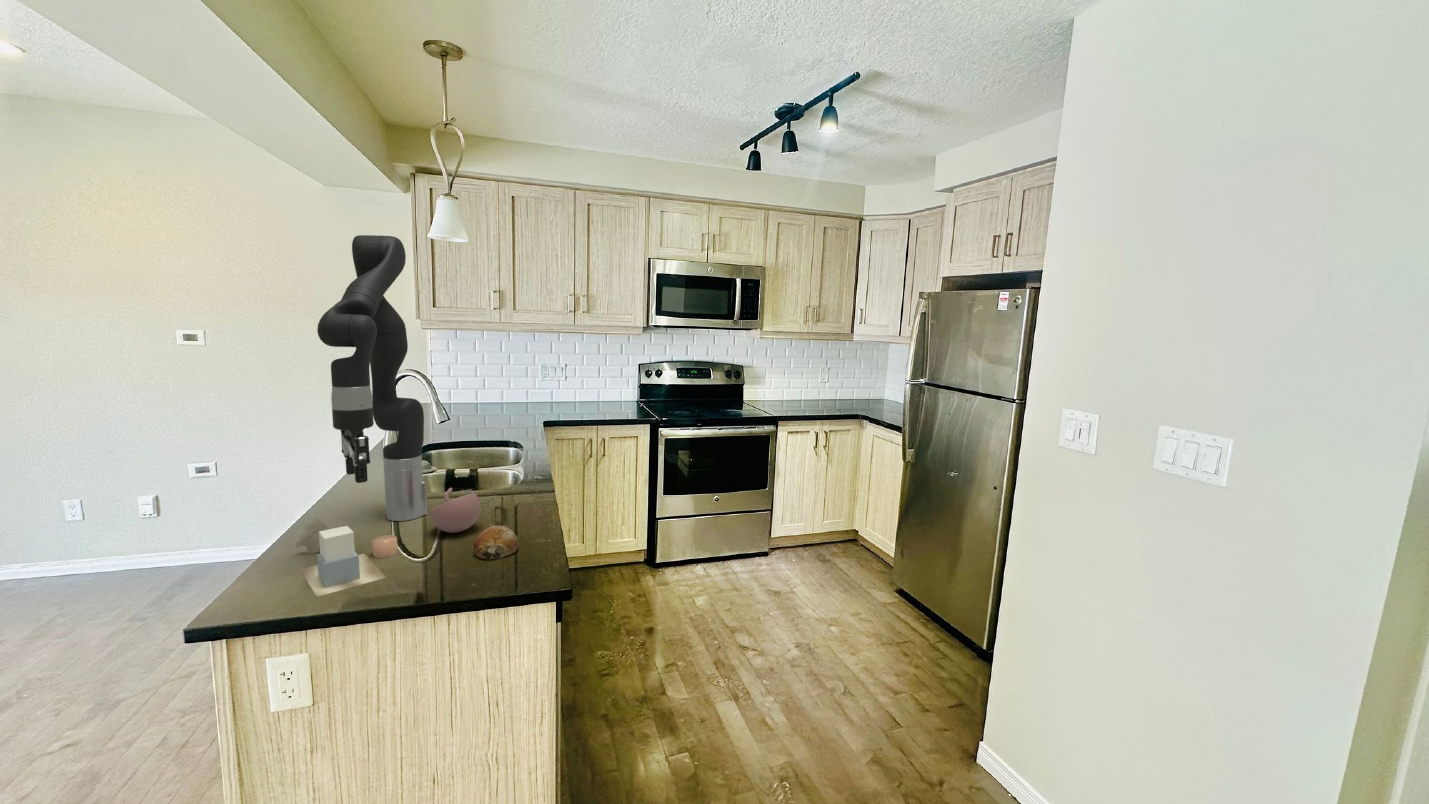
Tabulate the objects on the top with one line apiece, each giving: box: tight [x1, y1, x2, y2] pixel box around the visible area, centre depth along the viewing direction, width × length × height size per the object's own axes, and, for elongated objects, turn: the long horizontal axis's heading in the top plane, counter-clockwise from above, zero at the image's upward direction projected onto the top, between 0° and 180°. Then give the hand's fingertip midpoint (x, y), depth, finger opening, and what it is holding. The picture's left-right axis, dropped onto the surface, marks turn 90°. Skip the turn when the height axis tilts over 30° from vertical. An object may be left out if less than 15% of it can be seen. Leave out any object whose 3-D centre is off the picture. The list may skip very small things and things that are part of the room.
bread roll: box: [473, 525, 519, 560], centre depth 134 cm, size 10×10×8 cm
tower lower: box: [316, 551, 360, 588], centre depth 115 cm, size 6×6×5 cm
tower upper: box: [319, 525, 356, 563], centre depth 114 cm, size 5×5×5 cm
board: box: [299, 553, 387, 598], centre depth 117 cm, size 12×16×2 cm
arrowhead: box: [294, 516, 331, 554], centre depth 127 cm, size 8×3×10 cm, turn 118°
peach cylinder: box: [372, 534, 398, 559], centre depth 127 cm, size 5×5×5 cm
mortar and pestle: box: [429, 487, 481, 534], centre depth 145 cm, size 12×12×12 cm
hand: (356, 477), depth 124 cm, fingers open, 8 cm apart
